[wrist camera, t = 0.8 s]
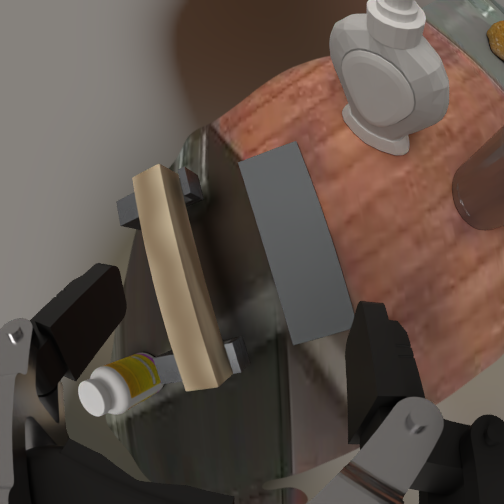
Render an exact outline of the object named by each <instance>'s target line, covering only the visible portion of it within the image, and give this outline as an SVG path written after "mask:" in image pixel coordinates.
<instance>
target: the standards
mask: <svg viewBox="0 0 504 504" xmlns="http://www.w3.org/2000/svg"><path fill="white" fill-rule="evenodd" d="M178 173H179V177H180V178H179V180H180V184H181V188H182V193H183V197H184V201H185V205H186V207H187V206H189V205H192V204H194V203H197V202H199V201H201V200H204V198H203V194H202V190H201V186H200V182H199V179H198V175H196V174H195V173H193V172H192V171H190V170H189V169H187V168H186V167H183V168H180V169H178ZM117 208H118V214H119V220H120V225H121V226H124V227H129V228H134V229H139V230H142V229H141V224H140V219H139V214H138V209H137V203H136V197H135V192H134V193H132V194H130V195H128V196H126V197H124V198H122V199H121V200H119V201H117ZM222 341H223V344H224V347H225V350H226V353H227V357H228V360H229V363H230V366H231V369H232V371H233V374H234V373H240V372H242V371H243V370H244V369H245V368H246V367H247V366H248V365H249V364H250V363H251V362H250V359H249V356H248V353H247V349H246V346H245V343H244V340H243V336H239V337H235V338H231V339H227V340H222ZM153 360H154V363H155V366H156V369H157V372H158V375H159V378H160V381H161V384H165V383H174V382H181V381H182V378H181V375H180V372H179V369H178V366H177V363H176V360H175V357H174V353H173V350H171V351H168V352H166V353H164V354H161V355H159V356H157V357H155V358H153Z"/></svg>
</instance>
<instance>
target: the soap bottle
mask: <svg viewBox="0 0 504 504" xmlns="http://www.w3.org/2000/svg"><path fill="white" fill-rule="evenodd" d="M425 21H426V16H425V14H424V11H423V10H422V9H421V8H420V7H419V6H418V4H417V3H416V1H415V0H368V2H367V14H352V15H350V16H347V17H346V18H344V19H342V20H340V21H338V22H337V23H335V25H334V27H333V30H332V32H331V35H330V44H329V45H330V55H331V59H332V62H333V65H334V68H335V70H336V72H337V75H338V77H339V80H340V82H341V84H342V87H343V89H344V92H345V95H346V97H347V100H348V104H347V105H346V106H345V107H344V108H343V111H342V115H343V119H344V121H345V123H346V124H347V125H348V126H349V128H350V129H351V130H352V131H353V133H354V134H356V135H357V136H358V137H359V138H360V139H361V140H362V141H364V142H365V143H366V144H368V145H370V146H372V147H374V148H376V149H378V150H380V151H383V152H386V153H389V154H392V155H395V156H396V155H404V154H405V153H407V152H408V151H409V146H410V144H409V137H408V135H409V134H412V133H415V132H418V131H420V130H423V129H425V128H427V127H429V126H432V125H434V124H436V123H437V122H439V121H440V120H442V118H443V117H444V115H445V114H446V111H447V108H448V105H449V80H448V77H447V74H446V71H445V69H444V66H443V63H442V60H441V58H440V57H439V55H438V54H437V53H436V51H435V50H434V49H433V48H432V46H431V45H430V44H429V43H428V41H427V40H426V39H425V38H424V36H423V35H422V33H423V29H424V25H425Z"/></svg>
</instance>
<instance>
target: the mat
mask: <svg viewBox="0 0 504 504" xmlns="http://www.w3.org/2000/svg"><path fill="white" fill-rule="evenodd" d="M238 164H239V167H240V170H241V173H242V177H243V180H244V183H245V186H246V189H247V193H248V196H249V199H250V202H251V206H252V209H253V212H254V215H255V219H256V222H257V225H258V229H259V232H260V235H261V238H262V242H263V245H264V248H265V252H266V255H267V258H268V262H269V265H270V268H271V272H272V275H273V278H274V282H275V285H276V288H277V292H278V295H279V298H280V302H281V305H282V309H283V312H284V315H285V319H286V322H287V326H288V329H289V332H290V336H291V339H292V343H293V345H296V344H300V343H303V342H307V341H311V340H314V339H318V338H322V337H325V336H329V335H332V334H335V333H339V332H342V331H346V330H349V329H351V326H352V323H353V320H354V312H353V308H352V305H351V301H350V298H349V294H348V291H347V287H346V284H345V280H344V277H343V274H342V270H341V267H340V264H339V261H338V257H337V254H336V251H335V248H334V245H333V242H332V239H331V236H330V233H329V230H328V227H327V224H326V221H325V218H324V215H323V212H322V209H321V206H320V203H319V201H318V198H317V195H316V192H315V190H314V187H313V184H312V181H311V179H310V176H309V173H308V171H307V168H306V165H305V163H304V160H303V158H302V155H301V153H300V150H299V147H298V145H297V142H296V141H295V142H292V143H289V144H286V145H283V146H281V147H278V148H275V149H272V150H270V151H267V152H264V153H262V154H259V155H257V156H254V157H251V158H249V159H246V160H244V161H241V162H239V163H238Z"/></svg>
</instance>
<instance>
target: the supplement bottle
mask: <svg viewBox="0 0 504 504" xmlns="http://www.w3.org/2000/svg"><path fill="white" fill-rule="evenodd" d="M153 358H154V357H153V356H151V355H150V354H147V353H137V354H134V355H131V356H129V357H126V358H124V359H121V360H118V361H115V362H113V363H110V364H107V365H104V366H101V367H99V368H97V369H95V370H94V371H93V373H92V375H91V377H90V379H88V380H85V381H83V382H81V384H80V385H79V388H78V393H79V398H80V400H81V403H82V404H83V406H84V407H85V409H86V410H87V411H88V412H89V413H90V414H92V415H94V416H102V415H104V414H106V413H111V414H121V413H123V412H125V411H127V410H129V409H130V408H132V407H134V406H135V405H137V404H139V403H141V402H142V401H144V400H146V399H147V398H149V397H151V396H152V395H154V394H156V393H157V392H159V391H160V390H161V389H162V387H163V385H164V384H161V381H160V378H159V375H158V372H157V369H156V366H155V363H154V360H153Z"/></svg>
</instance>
